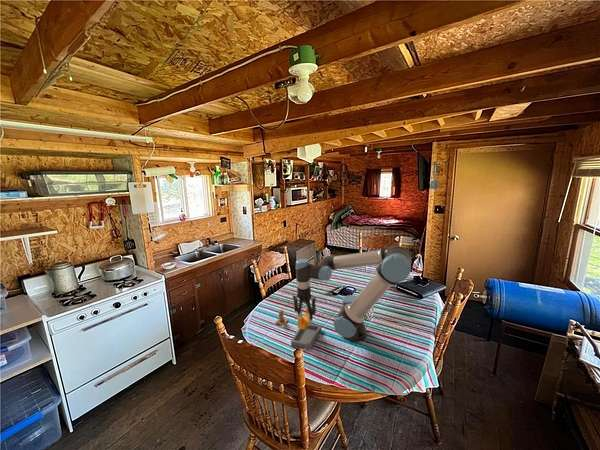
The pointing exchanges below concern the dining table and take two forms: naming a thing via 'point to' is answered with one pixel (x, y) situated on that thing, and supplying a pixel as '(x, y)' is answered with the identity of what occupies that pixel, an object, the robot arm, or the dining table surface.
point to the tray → (306, 337)
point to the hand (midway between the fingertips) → (305, 323)
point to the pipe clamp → (303, 321)
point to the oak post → (281, 318)
